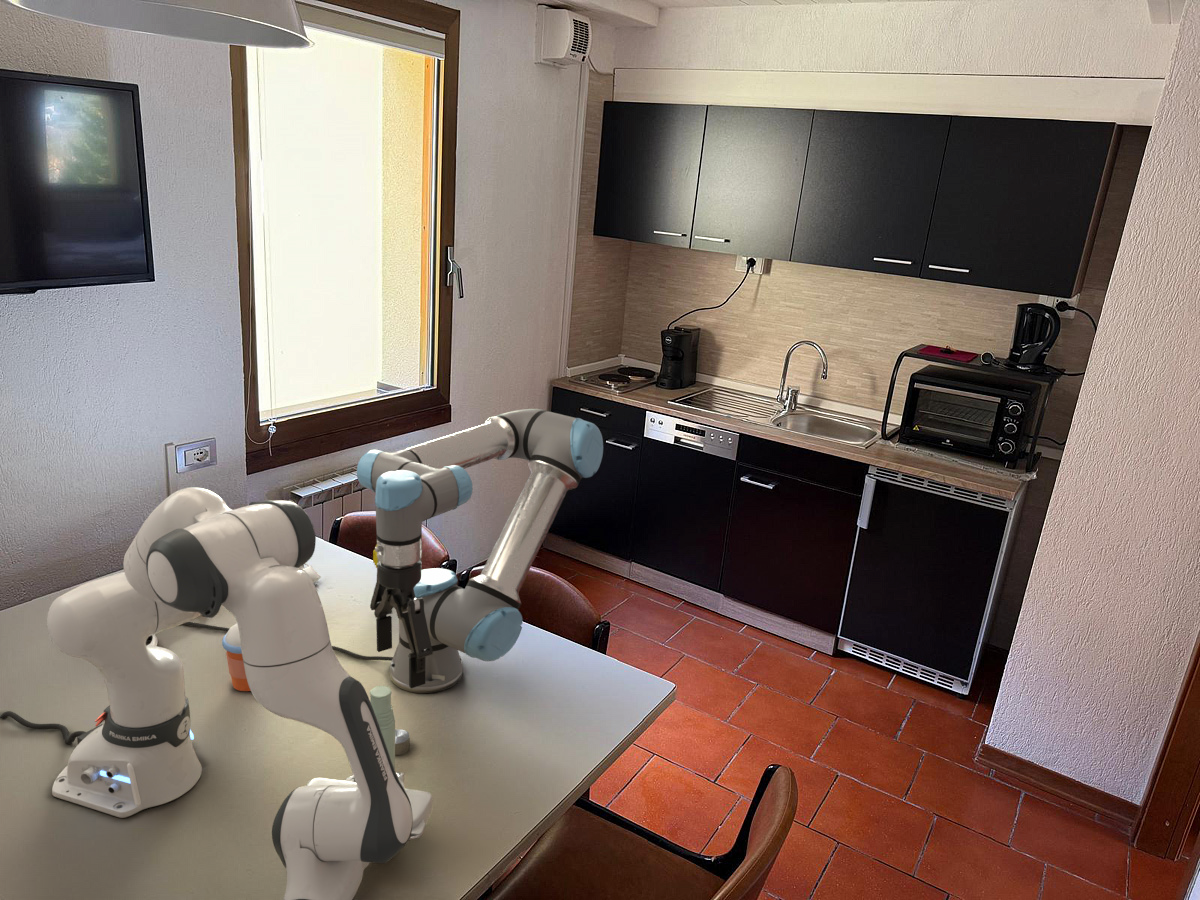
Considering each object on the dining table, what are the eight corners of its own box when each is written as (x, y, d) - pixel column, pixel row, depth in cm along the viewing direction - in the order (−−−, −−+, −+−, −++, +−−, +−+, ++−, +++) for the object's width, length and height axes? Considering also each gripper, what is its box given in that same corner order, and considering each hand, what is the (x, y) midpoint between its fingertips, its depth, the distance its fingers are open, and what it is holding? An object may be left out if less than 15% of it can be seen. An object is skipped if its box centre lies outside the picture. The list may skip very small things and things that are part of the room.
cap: (381, 744, 159) (381, 732, 158) (404, 737, 161) (404, 726, 161) (389, 758, 155) (389, 746, 155) (413, 751, 158) (413, 739, 157)
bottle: (368, 800, 145) (368, 682, 138) (396, 800, 145) (397, 683, 138) (364, 819, 140) (363, 699, 134) (392, 819, 141) (393, 699, 134)
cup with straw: (256, 699, 169) (252, 618, 164) (214, 691, 170) (209, 610, 165) (281, 675, 177) (278, 597, 172) (242, 667, 179) (238, 590, 174)
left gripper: (419, 824, 127) (444, 765, 140) (286, 807, 128) (323, 749, 141) (418, 859, 129) (443, 797, 142) (287, 841, 130) (324, 781, 143)
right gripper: (350, 537, 154) (353, 640, 161) (411, 595, 136) (411, 708, 142) (389, 529, 159) (390, 630, 165) (453, 583, 140) (452, 694, 147)
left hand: (382, 773), depth 142 cm, fingers open, 5 cm apart
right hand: (400, 666), depth 154 cm, fingers open, 13 cm apart
